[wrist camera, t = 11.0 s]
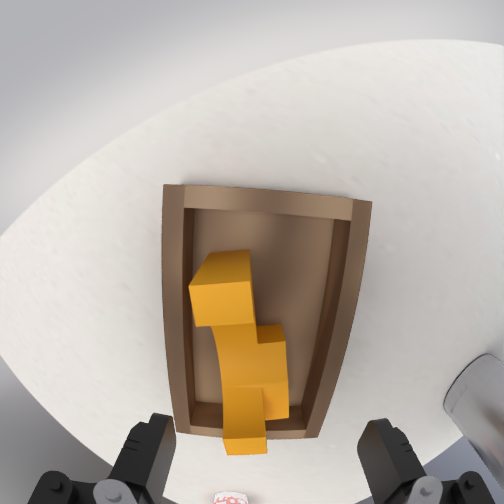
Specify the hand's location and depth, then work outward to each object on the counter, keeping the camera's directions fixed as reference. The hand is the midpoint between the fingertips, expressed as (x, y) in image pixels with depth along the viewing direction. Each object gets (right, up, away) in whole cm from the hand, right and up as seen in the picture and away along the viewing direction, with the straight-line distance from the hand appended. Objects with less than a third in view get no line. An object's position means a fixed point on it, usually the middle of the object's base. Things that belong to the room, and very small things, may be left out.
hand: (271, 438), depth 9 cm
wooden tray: (-1, +2, +10) cm, 11 cm away
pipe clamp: (-1, +2, +10) cm, 10 cm away
